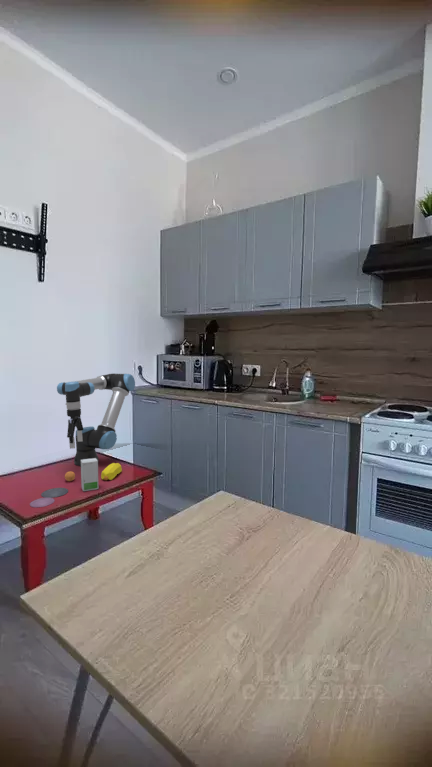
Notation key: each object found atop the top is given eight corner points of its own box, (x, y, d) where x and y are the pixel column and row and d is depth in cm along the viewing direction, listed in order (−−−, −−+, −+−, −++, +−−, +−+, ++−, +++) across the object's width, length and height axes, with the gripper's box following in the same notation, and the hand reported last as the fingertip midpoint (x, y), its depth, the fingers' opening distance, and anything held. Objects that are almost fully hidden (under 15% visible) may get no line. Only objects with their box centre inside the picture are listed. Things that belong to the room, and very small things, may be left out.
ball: (67, 479, 213) (67, 469, 212) (77, 479, 212) (76, 469, 212) (63, 482, 207) (62, 473, 207) (72, 482, 207) (72, 473, 206)
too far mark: (37, 497, 187) (37, 497, 187) (58, 498, 186) (58, 497, 186) (24, 507, 176) (24, 506, 176) (47, 507, 175) (47, 507, 175)
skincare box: (82, 491, 194) (81, 463, 192) (81, 487, 199) (79, 459, 198) (99, 488, 197) (98, 460, 196) (97, 484, 203) (95, 457, 202)
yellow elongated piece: (124, 471, 225) (111, 471, 226) (123, 460, 225) (111, 460, 226) (111, 482, 208) (98, 481, 209) (111, 470, 207) (98, 470, 208)
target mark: (49, 487, 200) (49, 487, 200) (72, 488, 199) (72, 487, 199) (35, 497, 187) (35, 497, 187) (60, 498, 186) (60, 497, 186)
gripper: (74, 404, 224) (76, 438, 227) (59, 413, 199) (62, 451, 202) (86, 404, 224) (89, 438, 227) (73, 413, 199) (76, 451, 202)
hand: (76, 444), depth 214 cm, fingers open, 13 cm apart
